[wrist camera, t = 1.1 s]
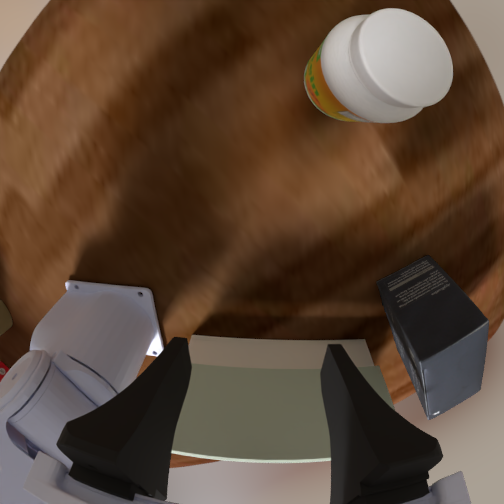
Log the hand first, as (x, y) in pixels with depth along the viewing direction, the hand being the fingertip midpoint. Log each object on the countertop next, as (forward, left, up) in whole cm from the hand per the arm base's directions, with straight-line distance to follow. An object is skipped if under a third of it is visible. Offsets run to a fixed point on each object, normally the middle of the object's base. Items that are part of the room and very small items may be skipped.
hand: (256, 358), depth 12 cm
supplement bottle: (+5, +13, -10) cm, 17 cm away
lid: (+2, -8, -2) cm, 8 cm away
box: (+14, -4, -10) cm, 18 cm away
